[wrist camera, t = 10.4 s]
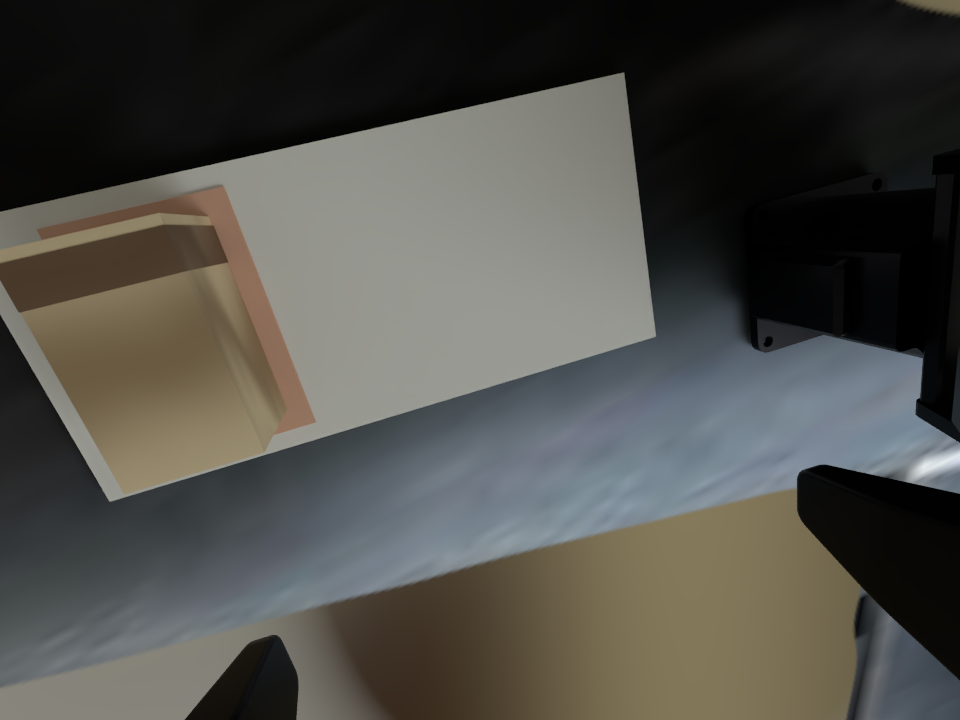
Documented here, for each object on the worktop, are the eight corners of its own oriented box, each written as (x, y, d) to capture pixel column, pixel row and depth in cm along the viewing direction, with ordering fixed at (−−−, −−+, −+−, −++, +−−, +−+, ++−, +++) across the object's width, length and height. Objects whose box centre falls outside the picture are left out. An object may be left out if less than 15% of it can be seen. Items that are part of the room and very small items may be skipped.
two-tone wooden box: (288, 408, 17) (264, 452, 14) (175, 441, 16) (123, 495, 13) (209, 216, 15) (159, 212, 11) (77, 247, 14) (-16, 253, 11)
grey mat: (617, 76, 17) (625, 71, 16) (649, 334, 20) (657, 337, 19) (-39, 223, 14) (-56, 223, 13) (117, 494, 17) (108, 503, 17)
